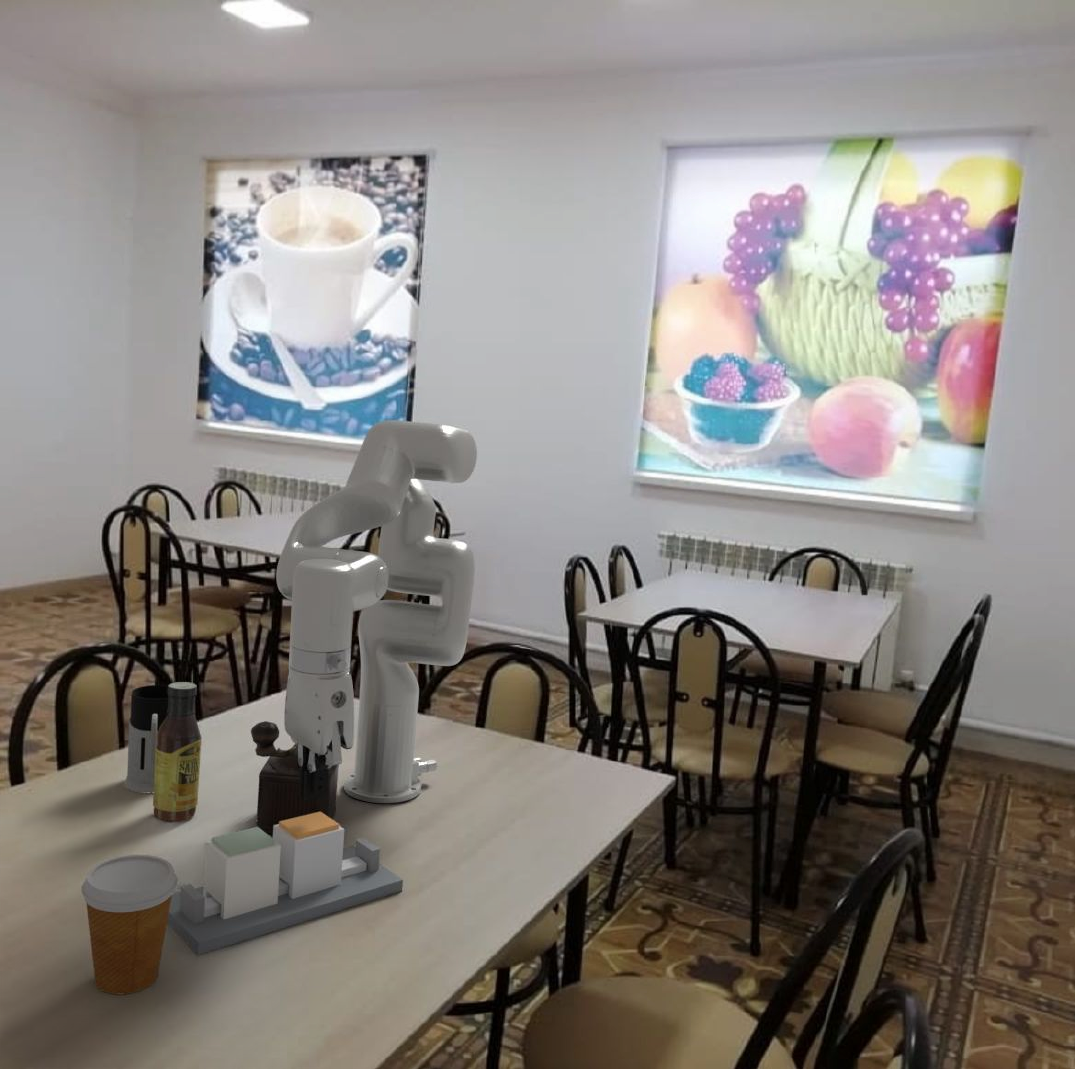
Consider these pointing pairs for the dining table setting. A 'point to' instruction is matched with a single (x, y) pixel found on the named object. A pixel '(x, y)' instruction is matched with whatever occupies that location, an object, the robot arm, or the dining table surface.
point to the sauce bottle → (178, 757)
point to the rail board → (283, 910)
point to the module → (309, 853)
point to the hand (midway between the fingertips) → (313, 796)
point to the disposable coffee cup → (128, 919)
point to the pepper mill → (285, 782)
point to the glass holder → (145, 735)
